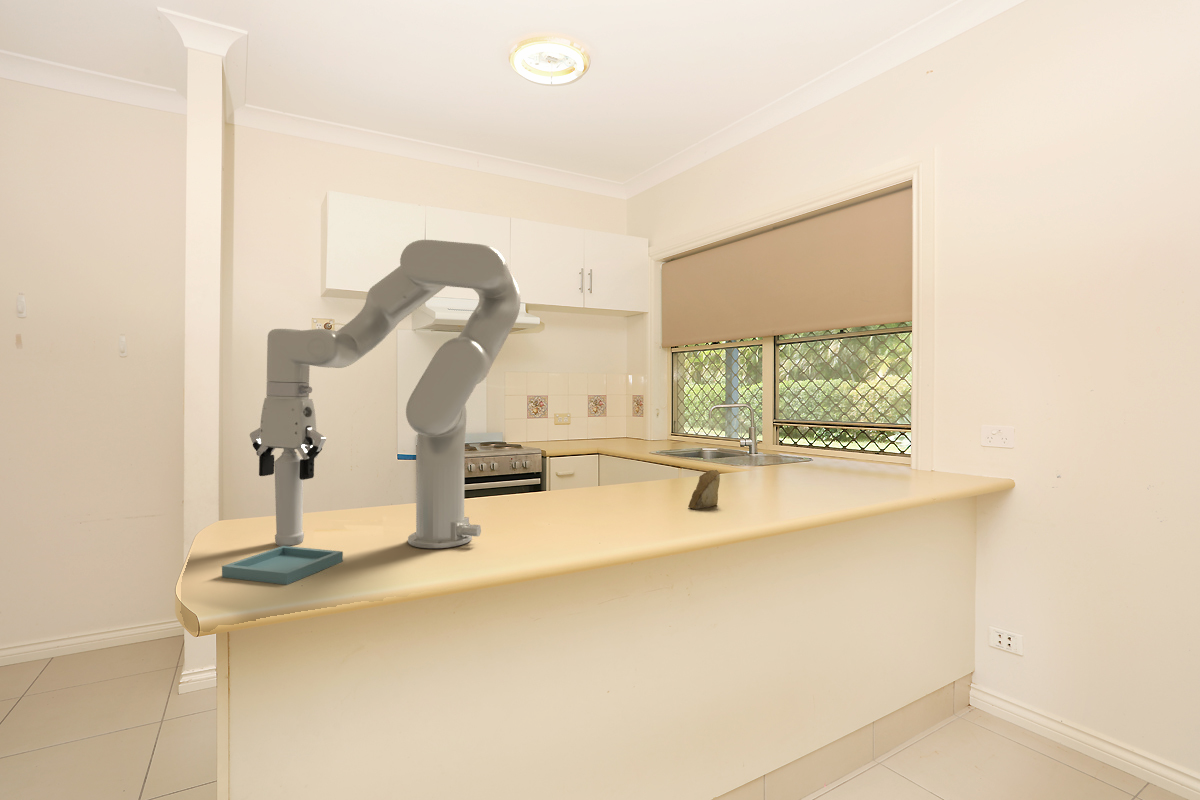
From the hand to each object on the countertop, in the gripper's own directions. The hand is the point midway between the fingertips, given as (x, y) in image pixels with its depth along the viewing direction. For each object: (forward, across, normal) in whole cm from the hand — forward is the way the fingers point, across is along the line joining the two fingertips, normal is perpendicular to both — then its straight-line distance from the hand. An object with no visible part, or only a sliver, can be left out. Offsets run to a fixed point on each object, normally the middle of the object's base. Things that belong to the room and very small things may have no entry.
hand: (286, 476), depth 119 cm
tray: (+13, -13, +14) cm, 23 cm away
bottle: (+13, -1, 0) cm, 13 cm away
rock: (+11, -77, -62) cm, 100 cm away
